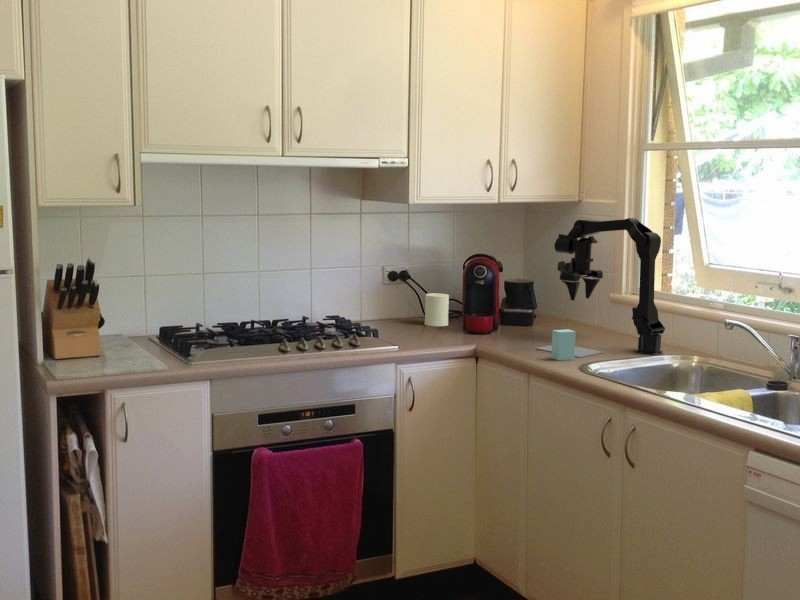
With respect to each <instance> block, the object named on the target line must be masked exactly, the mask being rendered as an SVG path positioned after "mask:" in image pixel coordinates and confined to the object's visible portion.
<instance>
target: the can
mask: <svg viewBox="0 0 800 600" xmlns="http://www.w3.org/2000/svg"><path fill="white" fill-rule="evenodd" d="M449 300H450V294H448V293H441V292H437V293H433V292H432V293H431V292H430V293H426V294H425V302H424V303H425V305H424V306H425V307H424V309H425V312H424V325H425V326H427V327H428V326H429V327H446V326H447V327H448V326H449V306H450V305H449V303H450V301H449Z"/></svg>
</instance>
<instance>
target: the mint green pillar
mask: <svg viewBox="0 0 800 600" xmlns="http://www.w3.org/2000/svg"><path fill="white" fill-rule="evenodd" d="M576 334H577V333H576V331H575V330H572V329H568V328H566V329H553V330H552V333H551V337H552V338H551V345H552V352H550V353H551V356H550V359H553V360H556V361H570V360H572V361H573V360H575V357H574V354H575V347H576Z"/></svg>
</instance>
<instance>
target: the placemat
mask: <svg viewBox="0 0 800 600" xmlns="http://www.w3.org/2000/svg"><path fill="white" fill-rule="evenodd" d="M535 350H538V351H543V352H547V353H552V344H551V345H550V344H549V345H545V346H540V347H535ZM601 353H602V354H604V351H600V350H596V349H590V348H584V347H579V346H575V354H574V358H580V359H582V358H586V357H587V358H588V357H591V356H597V355H602V354H601Z"/></svg>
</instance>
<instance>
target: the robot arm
mask: <svg viewBox="0 0 800 600" xmlns="http://www.w3.org/2000/svg"><path fill="white" fill-rule="evenodd" d="M613 231H614V232H615V231H626V232H627V234H628V235H629V237H630V239H631V240H632V241H633V242H634V243H635V250H636V253H637V255H638V258H639V260H640V261H639V286H638V287H639V291H638V292H639V293H638V294H639V295H638V298H639V299H638V304H637V306H635V307H632V310H631V311H632V317H631V320H632V322H633V325H634V326H635V328H636V333H637V335H638V339H637V341H638V342H637V349H636V351H635V352H636V353H637V352H638V353H641V354H642V353H643V354H647V355H657V353H658V354H661V352H662V353H663V352H664V350H661V347H662V346H661V343H662V335H663V334H664V332H665V330H666V328H665V326H664V325H663V323H662V322H661V321H660V319H659V311H658V309H657V306H656V304H655V283H656V282H655V280H656V278H655V276H656V275H655V274H656V259H657V256H658V255H659V252H660V250H661V245H662V239H661V236H660V235H659V234H658V233H657V232H654V231H653V230H651V228H649V227H648V226H646V225H644V224H643V223H642V222H641V221H640V220H639V219H637V218H636V217H628V218H625V219H624V218H623V219H614V220H612V219H611V220H597V219H578V220H575V222H574V224H573V227H572V228H571V229H570V231H569V232H568V233H567V234H565V233H559V234H558V237H557V239H556V240H555V242H554V250H555V252H556V253H558V254H566V255H567V254H568V255H573V256H574V257H571V259H570V262H566V261H564V260H563V261H559V262H558V263H557V271H558V272H560V274H559V280H561V282H562V283H564V284H565V285H566V288H567V290H568V294H569V298H570V301H575V299H576V296H577V294H578V290H579V287H580V284H581V281H580V279H582V280H583V281H584V287H585V288H584V289H585V293H584V294H585V299H590V298H591V296H592V293H593V292H594V290H595V288H596V286H597V285H598V283H599V282H600V281H601V279H604V277H603V276H604V273H603V271H602V269H595V268H594V269H593V268H591V263H592V262H594V258H592V247H593V244H597V243H598V240H597V239H596V238H595V237H594V235H598V234H599V233H603V232H613Z"/></svg>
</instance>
